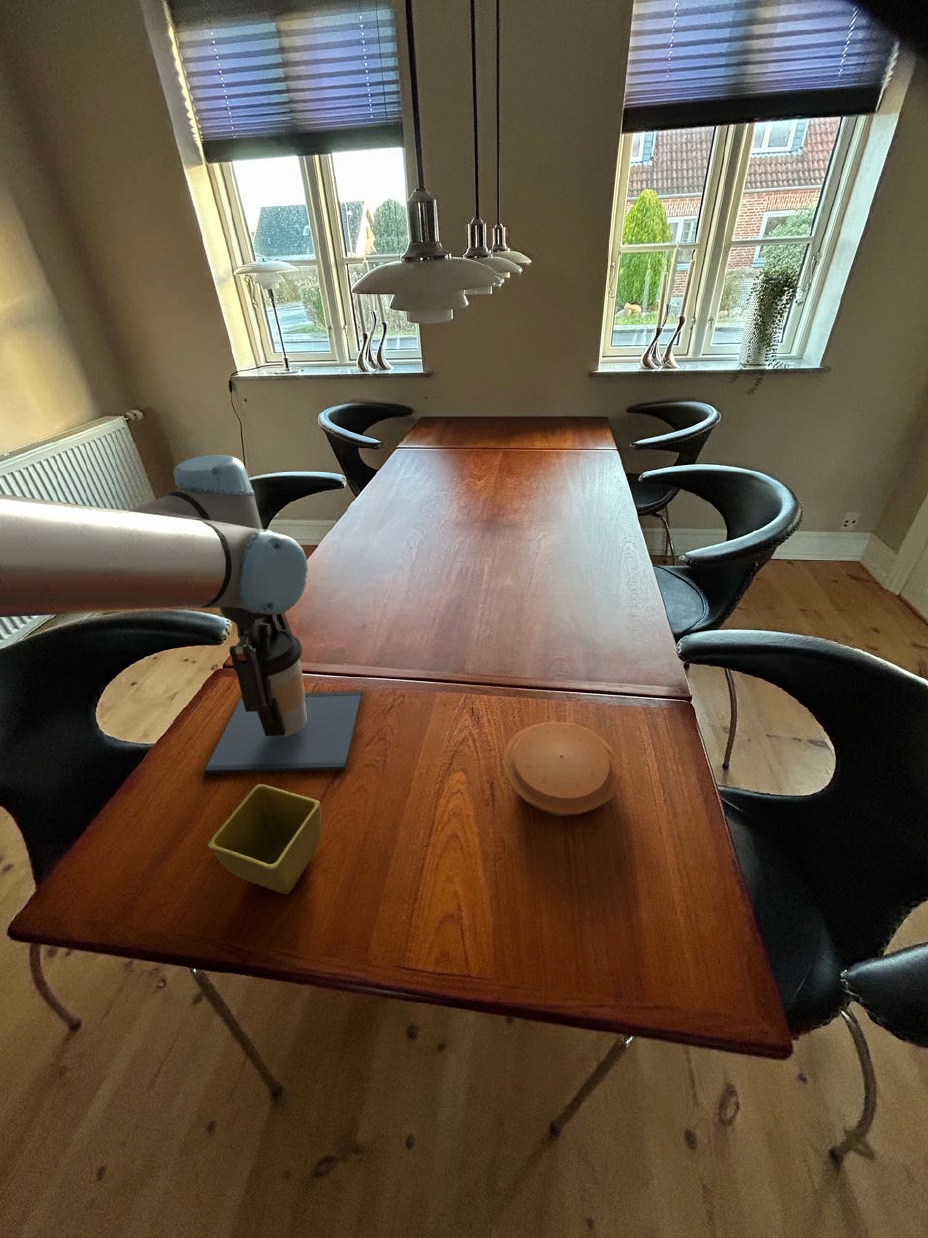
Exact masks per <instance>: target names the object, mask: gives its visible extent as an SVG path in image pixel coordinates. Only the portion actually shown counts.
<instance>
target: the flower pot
mask: <svg viewBox="0 0 928 1238" xmlns="http://www.w3.org/2000/svg"><path fill="white" fill-rule="evenodd" d="M322 828H323V827H322V814H321V802H320V801H319V800H317V799H313V798H311V797H307V796H305V795H303V796H302V795H300V794H297V793H293V792H290V791H286V790H284V789H280V788H276V787H273V786H270V785H267V784H264V783H263V784H262V783H258V784H257V785H255V786H254V787H253V788H252V790H250V792H249V793H248V794H247V795H246V797H245V798H244V799H243V800H242V802H241V803H240V804H239V805H238V806H237V807H236V809H234V811H233V812H232V814H231V815H230V816H229V817H228V818H227V820H226V821H225V822H224V823H223V825H221V827H220V828H219V829H218V830H217V831H216V833H215V834H214V835H213V837H212V838H211V839H210V841H209V843H208V844H207V847H208V848H209V849H210V850H211V852H212V853H213V855H214V856H215V857H216V858H217V860H219V862H220V863H221V864H222V866H223V867H224V868H225V869H226V870H227V872H229V873H230V874H232V875H234V876H235V877H237V878H239V879H242V880H244V881H246V882H248V883H249V882H250V883H252V884H255V885H257V886H260V887H263V888H266V889H268V890H271V891H274V892H277V893H278V894H281V895H288V894H289V893H290V892H291V891H292V890H293V888H294V887H295V885H296V883H297V882H298V881H299V879H300V877H301V876H302V874H303V872H304V871H305V870H306V868H307V866H308V865H309V863H310V862H311V860H312V859H313V857H314V855H315V854H316V851H317V849H318V846H319V844H320V840H321V837H322Z"/></svg>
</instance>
